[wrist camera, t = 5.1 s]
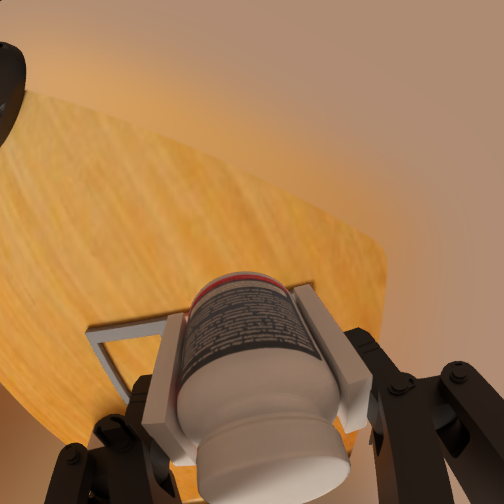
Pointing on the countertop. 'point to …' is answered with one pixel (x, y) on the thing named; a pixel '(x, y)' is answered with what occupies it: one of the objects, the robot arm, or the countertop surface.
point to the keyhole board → (122, 333)
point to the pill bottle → (258, 397)
